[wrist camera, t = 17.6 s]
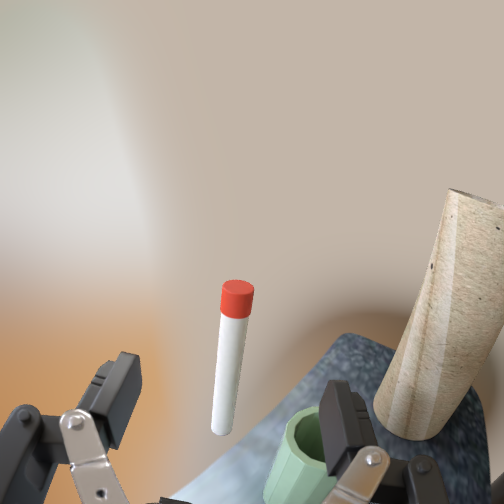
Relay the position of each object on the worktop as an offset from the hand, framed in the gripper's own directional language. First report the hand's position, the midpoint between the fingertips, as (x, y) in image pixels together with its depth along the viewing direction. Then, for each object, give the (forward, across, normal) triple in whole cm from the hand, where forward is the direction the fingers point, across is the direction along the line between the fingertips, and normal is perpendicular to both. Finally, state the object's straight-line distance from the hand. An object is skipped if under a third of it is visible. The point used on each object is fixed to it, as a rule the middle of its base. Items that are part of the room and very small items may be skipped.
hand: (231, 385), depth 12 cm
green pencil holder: (+3, -7, +16) cm, 18 cm away
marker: (+10, 0, +16) cm, 19 cm away
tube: (+14, -22, +17) cm, 31 cm away
